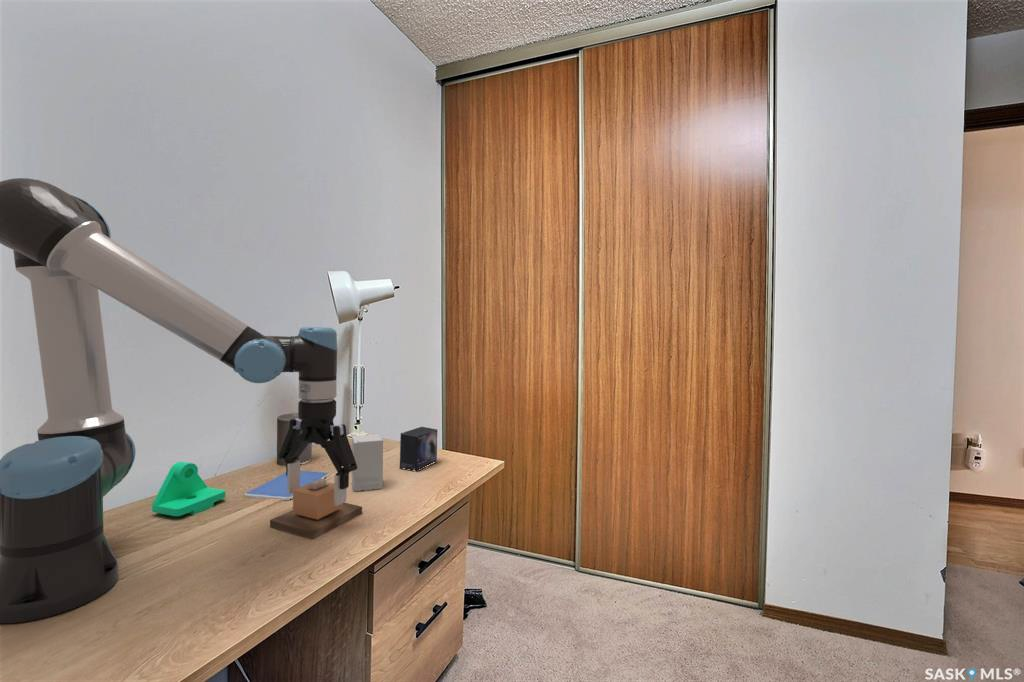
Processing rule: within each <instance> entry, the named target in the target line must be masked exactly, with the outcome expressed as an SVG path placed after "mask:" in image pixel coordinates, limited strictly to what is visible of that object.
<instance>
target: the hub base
mask: <svg viewBox="0 0 1024 682" xmlns="http://www.w3.org/2000/svg"><path fill="white" fill-rule="evenodd" d="M326 482H327V480H326V478H325V479H318V480H315V481H313V482H310V483H309V490H311V491H318V490H320V489H322V488H325V487H326ZM361 514H363V506H360V505H357V504H356V505H355V504H353V503H348V502H344V503H343V508H341V509H339V510H336V511H334V512H332V513H330V514H328V515H326V516H324V517H322V518H320V519H318V520H317V519H313V518H309V517H306V516H302V515H298V514H294V513H293V509H292V510H289V511H288V512H285V513H283V514H280V515H278V516H276V517H273V518H271V519H269V528H272V529H276V530H279V531H283V532H286V533H289V534H293V535H295V536H300V537H303V538H307V539H310V540H314V539H316V538H318V537H319V536H321V535H323V534H326V533H327V532H329V531H331V530H332V529H334V528H337V527H339V526H341V525H342V524H344V523H346V522H348V521H350V520H351V519H354V518H356V517H358V516H360V515H361Z"/></svg>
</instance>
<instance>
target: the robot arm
mask: <svg viewBox="0 0 1024 682" xmlns="http://www.w3.org/2000/svg"><path fill="white" fill-rule="evenodd" d="M111 235H112V234H111V229H110V226H109V224H108V222H107V220H106V219H105V217H104V216H103V215H102V214H101V213H100V212H99V211H98V210H97V209H96V208H95V207H94V206H92V205H91V204H90V203H88V202H87V201H85V200H84V199H81V198H79V197H77V196H75V195H72V194H69V193H68V192H66V191H65V190H63V189H61V188H60V187H58V186H55V185H53V184H51V183H49V182H45V181H43V180H39V179H33V178H23V177H21V178H20V177H17V178H11V179H10V178H9V179H4V180H0V244H2V246H4V247H6V248H8V249H11V250H12V251H13V252H12V253H13V259H14V266H15V270H16V272H18V273H19V274H21V275H23V276H24V277H25V278H27V279H28V280H29V281H30V289H31V297H32V304H33V311H34V312H33V313H34V319H35V328H36V335H37V343H38V351H39V358H40V367H41V373H42V381H43V390H44V397H45V403H46V405H45V406H46V410H47V411H46V412H47V420H46V421H45V422H44V423H43V424H42V425H40V426H39V428H38V429H37V430H36V432H37V433H36V434H37V439H38V440H36V441H34V442H33V443H25V444H23V445H20V446H18V447H14V448H13V449H11V450H9V451H8V452H6V453H5V454H4V455H3V456H2V457H1V458H0V624H8V623H7V622H10V623H9V624H14V623H15V624H16V623H17V622H18V623H24V622H31V621H37V620H40V619H45V618H48V617H52V616H56V615H59V614H62V613H64V612H65V613H66V612H67V611H70V610H74V609H75V608H78V607H80V606H83V605H85V604H88V603H89V602H92V601H93V600H95V599H97V598H99V597H101V596H102V595H103V594H105V593H107V592H108V591H109V590H110V589H111V588H112V587H113V586H115V584H116V583H117V582H118V580H119V563H118V560H117V558H116V556H115V553H114V551H113V549H112V548H111V546H110V543H109V541H108V540H107V537H106V535H105V533H104V498H105V496H106V495H107V494H109V492H110V491H111V490H112V489H114V488H115V487H116V486H117V485H118V484H120V483H121V482H122V480H124V479H125V478H126V477H127V475H128V474H129V472H130V471H131V469H132V467H133V464H134V462H135V459H136V446H135V442H134V441H133V438H132V437H131V436H130V434H128V432H126V426H125V418H124V415H121V414H120V413H118V412H116V411H115V410H113V404H112V397H111V388H110V379H109V370H108V362H107V353H106V347H105V346H106V345H105V338H104V336H105V335H104V328H103V318H102V312H101V302H100V295H99V291H101V292H102V293H104V294H105V295H107V296H109V297H111V298H112V299H114V300H116V301H118V302H119V303H121V304H122V305H124V306H125V307H128V308H129V309H131V310H132V311H135V312H137V313H138V314H140V315H141V316H143V317H145V318H146V319H148V320H150V321H152V322H153V323H156V324H157V325H159V326H160V327H162V328H164V329H165V330H167V331H169V332H171V333H172V334H174V335H176V336H177V337H179V338H181V339H183V340H185V341H186V342H187V343H189V344H191V345H193V346H195V347H196V348H197V349H200V350H201V351H203V352H204V353H207V354H208V355H210V356H212V357H213V358H216V359H217V360H218V361H220V362H222V363H223V364H225V365H226V366H228V367H230V368H231V369H233V371H234V372H235V373H237V374H238V375H239V376H240V377H241V378H242V379H243V380H245V381H247V382H250V383H253V384H265V383H269V382H270V381H273V380H274V379H276V378H277V377H278V376H280V375H281V374H282V373H298V399H299V402H298V403H297V404H298V405H297V406H298V407H297V410H298V412H297V413H298V417H299V418H296V419H291V420H290V424H289V430H288V433H287V435H286V438H285V440H284V443H283V445H282V448H281V451H280V453H279V458H280V459H284V461H285V463H286V466H285V472H286V476H287V493H288V494H291V493H293V490H295V489H297V488H300V471H301V465H300V461H296V462H295V460H299V459H298V458H299V456H300V455H301V453H302V452H303V451H304V449H305V448H306V446H307V445H308V444H309V443H312V444H315V445H320V447H321V448H323V449H324V451H325V452H326V454H327V456H328V457H329V460H330V461H331V463H332V464H333V466H334V468H335V470H336V473H334V482H333V483H334V505H336V506H338V505H340V504H342V503H347V491H348V490H347V489H348V488H349V484H350V473H352V471H354V470H356V469H357V464H356V461H355V458H354V455H353V453H352V446H351V444H350V441H349V437H348V436H347V427H346V424H344V423H343V424H338V425H335V424H334V419H335V417H336V416H337V400H336V397H337V395H338V394H337V374H338V371H337V370H338V338H337V336H338V335H337V331H336V330H335V329H334V328H332V327H326V326H325V327H324V326H322V327H321V326H312V327H311V326H302V327H300V328H299V330H298V335H294V336H293V335H291V336H279V335H264V334H262V333H260V332H259V331H257V330H256V329H254V328H252V327H251V326H249V325H248V324H246V323H244V322H242V321H241V320H239V319H238V318H237V317H235V316H233V315H231V314H230V313H229V312H227V311H225V310H224V309H222V308H221V307H219V306H218V305H216V304H214V303H213V302H211V301H209V300H208V299H207V298H205V297H203V296H202V295H200V294H199V293H197V292H195V291H194V290H192V289H191V288H189V287H187V286H186V285H185V284H183V283H181V282H180V281H178V280H177V279H175V278H174V277H171V276H170V275H169V274H167V273H166V272H164V271H163V270H161V269H159V268H158V267H156V266H154V265H153V264H151V263H150V262H148V261H147V260H145V259H143V258H142V257H141V256H139V255H138V254H136V253H134V252H132V251H131V250H130V249H128V248H126V247H125V246H124V245H121V244H120V243H118V242H117V241H115V240H114V239H112V236H111ZM301 430H302V433H301ZM300 433H301V434H300ZM299 435H300V436H299ZM297 440H298V441H297ZM286 451H287V452H286Z"/></svg>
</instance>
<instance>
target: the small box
mask: <svg viewBox="0 0 1024 682" xmlns="http://www.w3.org/2000/svg"><path fill="white" fill-rule="evenodd" d="M399 443H400V444H399V446H400V448H399V450H400V451H399V469H401V468H405V469H404V470H406V469H410V470H415V471H416V472H418V471H417V470H419V469H421V468H423V467H425V466H427V465H429V464H431V463H433V462H436V461H437V462H438V460H437V459H438V458H437V457H438V429H436V428H431V427H425V426H419V427H416V428H414V429H410V430H407V431H403V432H401V433H400V441H399ZM425 468H426V467H425ZM423 469H424V468H423ZM410 470H409V471H410ZM421 470H422V469H421ZM415 471H414V472H415ZM419 471H420V470H419Z"/></svg>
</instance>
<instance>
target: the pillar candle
mask: <svg viewBox="0 0 1024 682" xmlns="http://www.w3.org/2000/svg"><path fill="white" fill-rule="evenodd" d="M296 418H299V417H298V412H295V411H293V413H285V414H281V415H278V416H277V418H276V464H277V465H279V466H282V465H286V463H285V461H284V459H280V458H279V453H280V451H281V448H282V445H283V443H284V440H285V438H286V435H287V433H288V430H289V424H290V420H291V419H296ZM301 433H302V430H301ZM301 433H300V434H301ZM299 436H300V435H299ZM297 441H298V440H297ZM312 447H313V443H309V444H308V445H307V446H306V448H305V449H304V451H303V452H302V453H301V455H300V456H299V458H298V459H299V460H295V462H296V461H300V463H303V462H306V461H309V460H310V459H311V458H313V457H312V456H313V448H312ZM286 452H287V451H286ZM311 460H312V459H311Z"/></svg>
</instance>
